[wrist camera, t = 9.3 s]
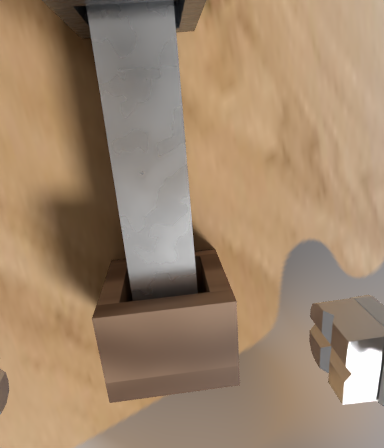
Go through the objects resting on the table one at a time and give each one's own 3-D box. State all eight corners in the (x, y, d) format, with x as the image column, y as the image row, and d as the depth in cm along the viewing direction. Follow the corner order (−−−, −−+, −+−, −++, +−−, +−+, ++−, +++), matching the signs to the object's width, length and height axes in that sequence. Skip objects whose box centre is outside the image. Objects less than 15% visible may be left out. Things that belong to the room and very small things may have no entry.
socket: (111, 260, 25) (91, 318, 18) (215, 249, 25) (236, 301, 18) (123, 326, 27) (109, 402, 20) (219, 314, 27) (239, 385, 20)
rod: (90, -44, 17) (71, -88, 14) (164, -47, 18) (165, -92, 14) (143, 313, 25) (140, 348, 21) (195, 307, 25) (201, 341, 21)
